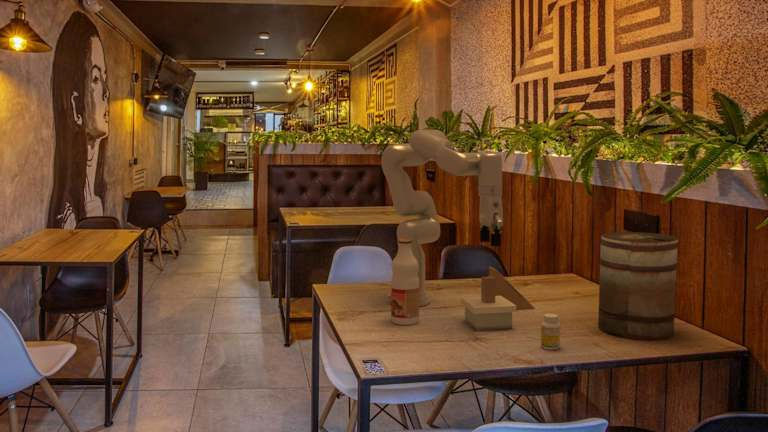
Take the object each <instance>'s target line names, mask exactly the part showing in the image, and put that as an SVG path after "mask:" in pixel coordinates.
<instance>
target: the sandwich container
mask: <svg viewBox="0 0 768 432" xmlns="http://www.w3.org/2000/svg"><path fill="white" fill-rule="evenodd" d="M488 276H492V277H494V278H495V279H496V287H495V296H502V297H504V298H505V299H507V300H508V301H510V302H511V303H513V304H514V305H516V311H525V310H536V307H535V306H533V304H531V303H530V301H528V300H527V299H526V298H525V297H524V296H523V295H522V294H521V293H520V292H519V291H518V290H517V288H515V286H513V285H512V284H511V283H510V282H509V281H508V279H506V278H505V277H504V276H503V275H502V274H501V273H500V272H499V271H498V270H497V269H495V268H494V267H492V266H488Z"/></svg>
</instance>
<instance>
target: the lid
mask: <svg viewBox="0 0 768 432" xmlns="http://www.w3.org/2000/svg"><path fill="white" fill-rule="evenodd" d="M480 282H481V284H480V285H481V286H480V289H481V290H480V293H481V294H480V296H467V297H465V296H464V297H460V298H461V300H460V302H461V305H463V306H464V308H465V307H466V308H467V309H469V310H470V311H471V312H472V313H474V314H487V313H505V312H512V313H517V310H516V305H514V304H513V303H511V302H510V301H508V300H507V299H505V298H504V297H502V296H495V287H496V279H495V278H494V277H492V276H489V275H488V276H481V279H480Z"/></svg>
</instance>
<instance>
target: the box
mask: <svg viewBox="0 0 768 432" xmlns="http://www.w3.org/2000/svg"><path fill="white" fill-rule="evenodd" d="M464 322H466V323H467V325H469V326H470V327H471V328H472V329H474V330H475V332H480V331H481V332H482V331H498V330H511V329H513V312H505V313H487V314H474V313H472V312H471V311H470V310H469V309H467V308H466V307H465V306H464Z"/></svg>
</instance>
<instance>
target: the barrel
mask: <svg viewBox="0 0 768 432" xmlns="http://www.w3.org/2000/svg"><path fill="white" fill-rule="evenodd" d="M678 243H679V238H678V237H676V236H673V235H670V234H661V233H655V232H640V231H639V232H636V231H617V232H606V233H603V234H601V235H600V255H599V257H600V259H599V287H598V288H599V290H598V294H599V295H598V317H597V318H598V320H597V321H598V323H597V326H598V330H600V331H601V332H602V333H604V334H606V335H609V336H613V337H615V338H620V339H623V340H624V339H625V340H633V341H644V342H645V341H646V342H650V341H651V342H653V341H654V342H655V341H663V340H668V339H670V338H672V337H674V333H675V331H674V330H675V311H676V310H675V309H676V292H677V291H676V289H677V268H678V267H677V266H678V265H677V264H678Z"/></svg>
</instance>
